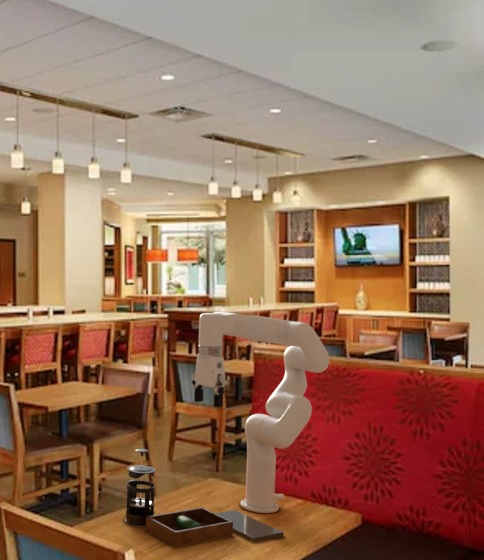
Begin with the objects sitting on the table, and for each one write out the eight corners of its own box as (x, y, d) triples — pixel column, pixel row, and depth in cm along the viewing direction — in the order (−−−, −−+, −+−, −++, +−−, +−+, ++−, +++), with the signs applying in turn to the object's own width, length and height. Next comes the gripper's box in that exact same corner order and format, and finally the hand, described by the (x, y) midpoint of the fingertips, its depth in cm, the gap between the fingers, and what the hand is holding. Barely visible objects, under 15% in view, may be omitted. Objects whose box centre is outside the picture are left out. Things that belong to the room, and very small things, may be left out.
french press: (161, 526, 226) (163, 452, 225) (134, 529, 222) (137, 454, 222) (143, 514, 237) (145, 443, 236) (117, 517, 233) (119, 445, 232)
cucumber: (183, 525, 226) (184, 512, 226) (205, 537, 216) (205, 523, 216) (173, 527, 224) (173, 514, 224) (194, 539, 215) (195, 525, 214)
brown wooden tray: (201, 521, 232) (202, 507, 232) (232, 536, 219) (233, 521, 219) (145, 531, 221) (146, 516, 221) (174, 548, 208) (175, 532, 208)
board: (234, 514, 239) (234, 509, 239) (283, 537, 220) (283, 532, 220) (205, 519, 233) (205, 514, 233) (253, 543, 214) (253, 538, 214)
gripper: (237, 354, 229) (235, 408, 229) (202, 348, 244) (200, 398, 244) (218, 354, 225) (216, 409, 226) (184, 348, 241) (182, 400, 241)
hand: (208, 404), depth 235 cm, fingers open, 9 cm apart
